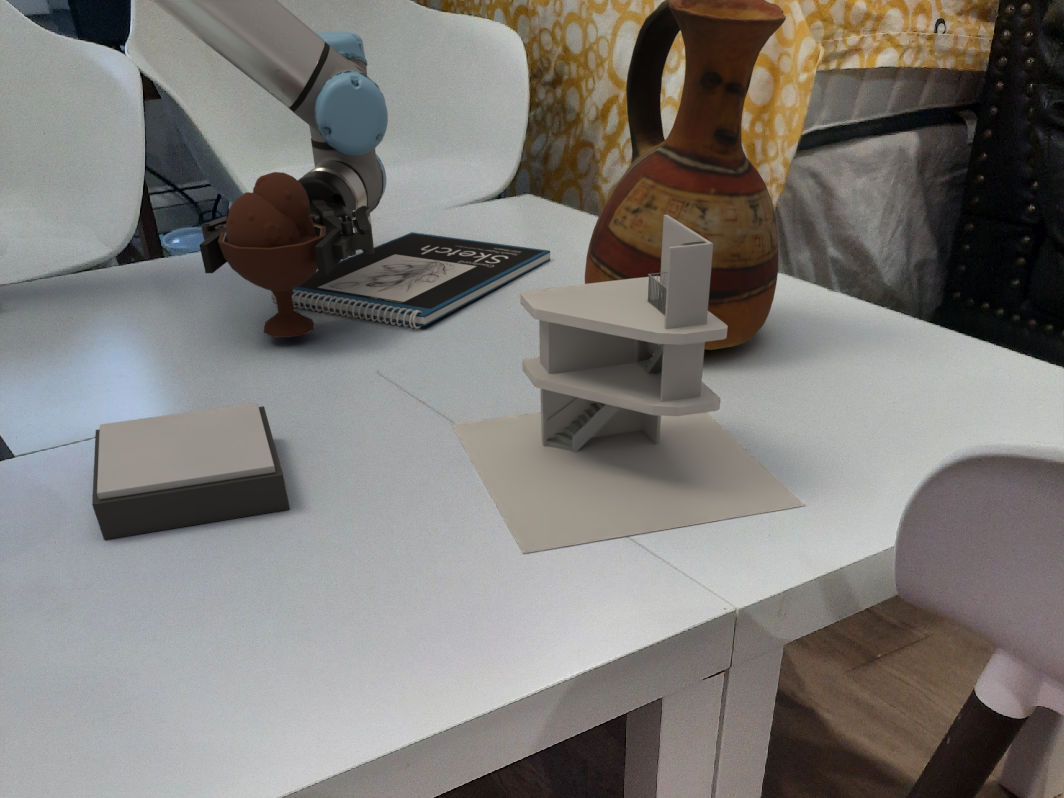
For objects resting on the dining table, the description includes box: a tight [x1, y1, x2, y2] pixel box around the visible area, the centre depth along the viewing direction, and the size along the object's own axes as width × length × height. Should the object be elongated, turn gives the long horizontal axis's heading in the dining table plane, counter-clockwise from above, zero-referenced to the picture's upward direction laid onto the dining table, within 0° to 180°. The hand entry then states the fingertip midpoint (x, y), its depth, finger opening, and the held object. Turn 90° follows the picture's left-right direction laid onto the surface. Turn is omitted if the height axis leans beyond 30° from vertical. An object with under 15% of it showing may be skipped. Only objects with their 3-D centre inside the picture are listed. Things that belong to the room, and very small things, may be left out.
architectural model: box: [451, 215, 806, 554], centre depth 79 cm, size 23×24×18 cm
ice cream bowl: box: [218, 171, 326, 338], centre depth 103 cm, size 11×11×15 cm
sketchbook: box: [270, 231, 551, 330], centre depth 123 cm, size 22×30×2 cm
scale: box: [91, 402, 291, 541], centre depth 82 cm, size 14×14×4 cm
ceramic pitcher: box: [584, 0, 787, 351], centre depth 98 cm, size 20×20×30 cm
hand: (262, 260), depth 100 cm, fingers closed on ice cream bowl, 11 cm apart
